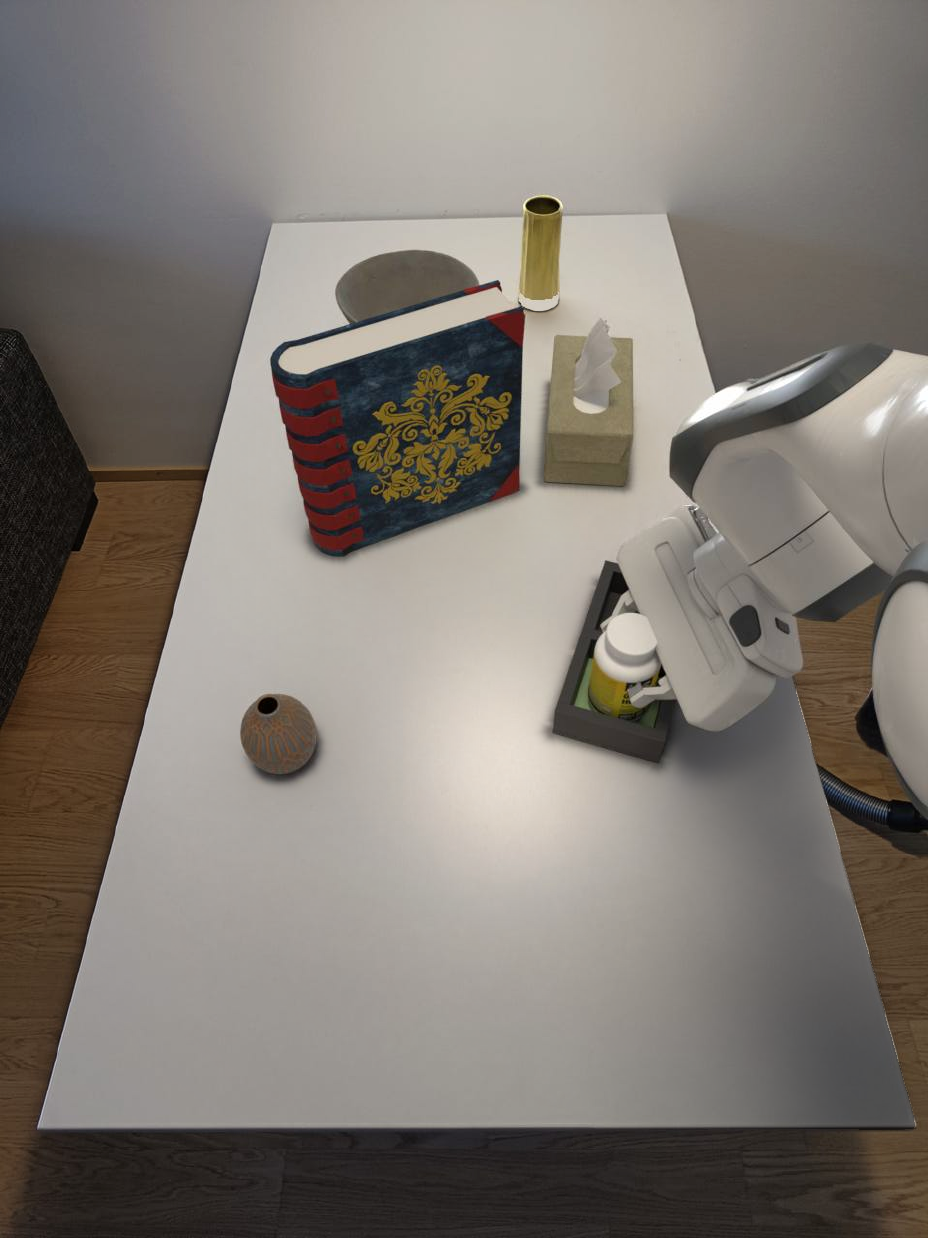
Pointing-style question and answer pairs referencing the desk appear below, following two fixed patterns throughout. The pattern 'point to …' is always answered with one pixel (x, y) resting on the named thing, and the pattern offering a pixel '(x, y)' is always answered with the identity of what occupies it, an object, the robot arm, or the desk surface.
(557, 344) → the tissue box
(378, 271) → the bowl
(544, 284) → the vase
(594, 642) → the holder
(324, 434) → the book
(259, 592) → the desk surface
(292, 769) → the vase
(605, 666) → the pill bottle
